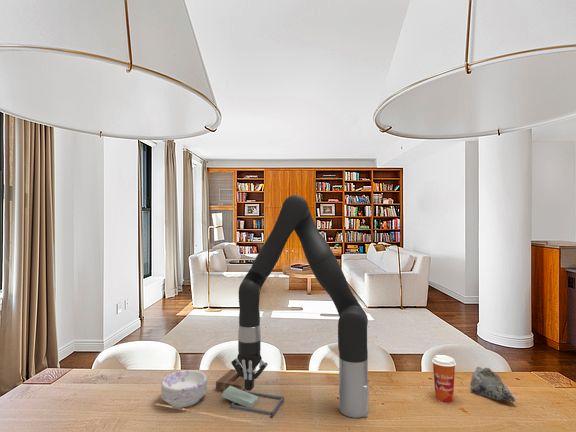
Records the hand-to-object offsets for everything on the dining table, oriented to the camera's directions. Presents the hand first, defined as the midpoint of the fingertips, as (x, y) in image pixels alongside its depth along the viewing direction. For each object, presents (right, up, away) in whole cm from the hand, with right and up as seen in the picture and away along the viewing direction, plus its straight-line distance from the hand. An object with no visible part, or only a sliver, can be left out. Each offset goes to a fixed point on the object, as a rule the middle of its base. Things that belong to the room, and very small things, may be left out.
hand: (249, 389), depth 123 cm
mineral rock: (+85, -5, +5) cm, 85 cm away
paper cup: (+68, -5, +4) cm, 68 cm away
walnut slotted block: (-6, -5, +13) cm, 15 cm away
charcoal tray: (+3, -5, -1) cm, 6 cm away
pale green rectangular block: (+2, -4, -1) cm, 4 cm away
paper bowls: (-22, -5, +2) cm, 23 cm away
